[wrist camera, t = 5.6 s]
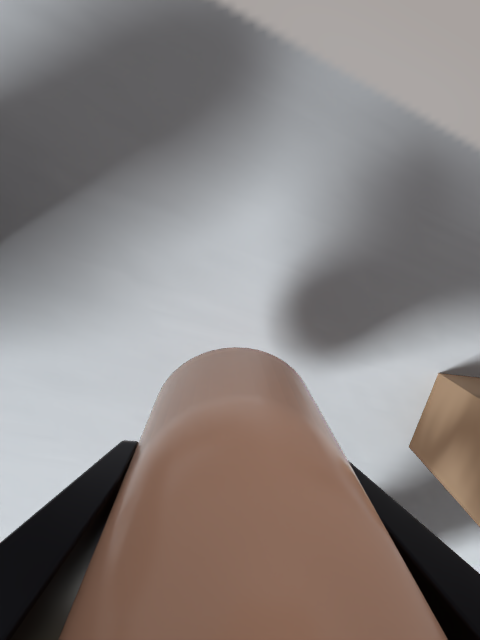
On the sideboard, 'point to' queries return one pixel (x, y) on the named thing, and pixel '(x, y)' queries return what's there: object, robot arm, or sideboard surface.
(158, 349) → the sideboard surface
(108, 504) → the robot arm
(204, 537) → the peach rounded cylinder
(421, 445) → the block
